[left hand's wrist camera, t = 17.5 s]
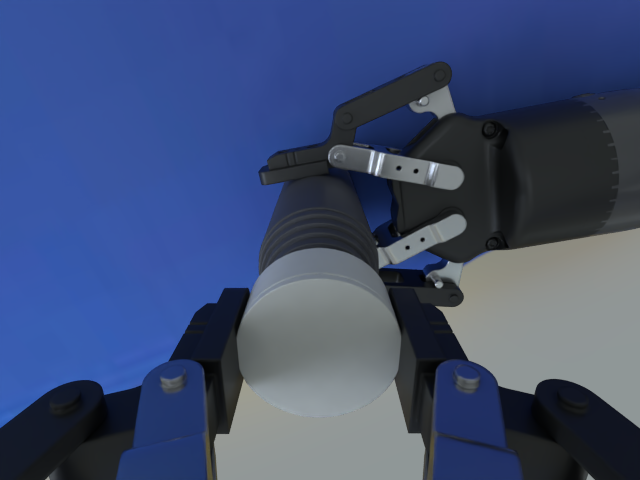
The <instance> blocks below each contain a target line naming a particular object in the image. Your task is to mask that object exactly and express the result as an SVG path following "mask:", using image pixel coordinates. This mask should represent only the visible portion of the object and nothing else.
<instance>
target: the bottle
mask: <svg viewBox="0 0 640 480" xmlns="http://www.w3.org/2000/svg"><path fill="white" fill-rule="evenodd" d="M311 248H328V249H335V250H339V251H343V252H346V253H349V254H351V255H353V256H355V257H357V258H359V259H361V260H362V261H364V262H365V263H366V264H368V265H369V266H370V267H371V268H372V269H373V270H374V271H375V272H376V273H377V274H378V275H379V256H378V250H377V246H376V244H375V241H374V238H373V235H372V233H371V230H370V227H369V225H368V222H367V219H366V217H365V214H364V211H363V209H362V206H361V203H360V201H359V198H358V195H357V193H356V190H355V187H354V184H353V182H352V179H351V176H350V174H349V172H348V170H345V169H340V168H330V169H329V174H324V175H319V176H311V177H307V178H302V179H297V180H291V181H286V182H284V185H283V188H282V191H281V193H280V196H279V199H278V201H277V204H276V207H275V210H274V212H273V215H272V218H271V221H270V223H269V226H268V229H267V232H266V234H265V237H264V240H263V243H262V245H261V249H260V253H259V276H260V275H261V274H262V272H263V271H264V270H265V269H266V268H267V267H268V266H270V265H271V264H272V263H273V262H275V261H276V260H278V259H280V258H281V257H283V256H285V255H287V254H290V253H292V252H295V251H300V250H304V249H311Z"/></svg>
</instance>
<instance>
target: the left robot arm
mask: <svg viewBox="0 0 640 480" xmlns="http://www.w3.org/2000/svg"><path fill="white" fill-rule="evenodd" d="M388 295H389V298H390V301H391V304H392V307H393V310H394V313H395V316H396V319H397V322H398V325H399V328H400V331H401V347H400V358H399V368H398V372H397V375H396V377H395V378H394V379H395V383H396V387H397V391H398V394H399V398H400V402H401V406H402V410H403V414H404V418H405V422H406V426H407V430H408V433H421V435H422V438H423V442H424V445H425V455H424V469H423V480H586V479H587V476H588V473H589V474H590V475H591V476H592V477H593V478H594V479H595V480H640V428H639V427H637V426H636V425H635V424H633V423H632V422H631V421H629V420H628V419H627V418H626V417H624V416H623V415H622V414H620V413H619V412H618V411H616V410H615V409H614V408H613V407H611V406H610V405H609V404H607V403H606V402H605V401H604V400H602V399H601V398H600V397H598V396H597V395H596V394H594V393H593V392H591V391H590V390H588V389H586V388H585V387H583V386H580V385H578V384H576V383H573V382H569V381H566V380H560V379H549V380H544V381H542V382H540V383H539V384H538V385H537V387H536V390H535V394H534V395H533V394H528V393H524V392H520V391H515V390H511V389H507V388H503V387H500V386H498V383H497V380H496V378H495V377H494V376H493V374H492V373H491V372H490V371H488V370H487V369H486V368H484V367H483V366H481V365H479V364H476V363H474V362H471V361H469V360H468V358H467V357H466V355H465V353H464V351H463V349H462V347H461V346H460V344H459V342H458V340H457V338H456V336H455V335H454V333H453V331H452V329H451V327H450V325H449V324H448V322H447V320H446V318H445V316H444V314H443V313H442V312H441V311H440V310H439V309H438V308H436V307H435V306H434V305H432V304H431V303H421V302H420V300H419V298H418V296H417V294H416V292H415V290H414V288H390V289H389V292H388ZM249 296H250V292H249V289H248V288H225V289H224V290H223V292H222V294H221V296H220V298H219V300H218V302H217V303H207V304H206V305H205V306H203V307H202V308H201V309H199V310H198V311H197V312H196V313H195V314H194V316H193V318H192V320H191V322H190V325H188V327H187V329H186V331H185V334H183V336H182V338H181V340H180V341H179V343H178V345H177V347H176V349H175V350H174V352H173V354H172V356H171V358H170V359H169V361H168V362H166V363H163V364H161V365H159V366H157V367H156V368H154V369H153V370H152V371H150V372H149V373H148V374H147V376H146V377H145V378H144V380H143V383H142V385H141V386H138V387H136V388H132V389H129V390H124V391H120V392H115V393H111V394H107V395H104V393H103V389H102V387H101V385H100V384H98V383H97V382H94V381H90V380H80V381H74V382H70V383H66V384H63V385H61V386H58V387H56V388H54V389H52V390H51V391H49V392H47V393H46V394H44V395H43V396H42V397H40V398H39V399H38V400H36V401H35V402H34V403H33V404H31V405H30V406H29V407H27V408H26V409H25V410H23V411H22V412H21V413H20V414H18V415H17V416H16V417H14V418H13V419H12V420H10V421H9V422H8V423H7V424H5V425H4V426H3V427H1V428H0V480H45V479H46V478H47V477H48V476H49V478H50V480H217V469H216V455H215V448H214V440H215V437H216V434H229V432H230V428H231V425H232V421H233V417H234V413H235V409H236V406H237V402H238V398H239V394H240V390H241V386H242V383H243V379H244V378H243V376H242V374H241V372H240V369H239V359H238V348H237V332H238V328H239V325H240V323H241V320H242V317H243V314H244V311H245V308H246V305H247V302H248V299H249Z"/></svg>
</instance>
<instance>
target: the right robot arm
mask: <svg viewBox="0 0 640 480" xmlns="http://www.w3.org/2000/svg"><path fill="white" fill-rule="evenodd" d="M451 77H452V71H451V68H450V66H449V65H448V64H447V63H445V62H436V63H431V64H427V65H423V66H421V67H419V68H417V69H415V70H413V71H411V72H408V73H406V74H404V75H402V76H400V77H398V78H396V79H394V80H391V81H389V82H387V83H385V84H383V85H381V86H379V87H377V88H375V89H372V90H370V91H368V92H366V93H364V94H362V95H360V96H358V97H355V98H353V99H351V100H349V101H347V102H345V103H343V104H341V105H339V106H337V107H336V109H335V110H334V114H333V122H332V128H331V133H330V135H329V137H328V139H327V140H326V141H324V142H322V143H319V144H314V145H309V146H303V147H298V148H293V149H287V150H282V151H278V152H276V153H275V154H273V155H272V156H270V157H269V159H268V160H267V163H268V165H266V166H263V167H262V168H261V169H260V170H259V176H260V180H261V184H262V185H269V184H275V183H280V182H286V181H291V180H297V179H302V178H307V177H311V176H319V175H324V174H329V169H330V168H340V169H345V170H351V171H357V172H363V173H368V174H371V175H374V176H377V177H382V178H387V184H388V187H389V189H390V192H391V194H392V204H391V217H392V219H391V220H389V221H387V222H386V223H384V224H382V225H380V226H379V227H377V228H376V229H375V231H374V232H373V233H372V235H373V238H374V241H375V244H376V246H377V250H378V256H379V275H378V276H379V277H380V278H381V280H382V281H383V283H384V285H385V287H386V290H387V292H389V289H390V288H414V290H415V292H416V294H417V296H418V298H419V300H420V302H421V303H431V304H432V305H434V306H443V307H455V306H458V305H459V304H461V303H462V301H463V299H464V296H463V293H462V291H461V290H460V288H459V282H460V277H461V273H462V268H463V263H465V262H468V261H470V260H471V259H473V258H474V257H476V256H477V255H479V254H481V253H483V252H486V251H490V250H511V249H517V248H523V247H529V246H536V245H542V244H547V243H554V242H560V241H566V240H572V239H578V238H584V237H590V236H596V235H602V234H608V233H614V232H620V231H626V230H631V229H636V228H640V88H638V89H624V90H617V91H610V92H604V93H599V94H590V93H587V94H582V95H578V96H574V97H572V98H571V99H567V100H562V101H556V102H551V103H546V104H540V105H535V106H530V107H524V108H519V109H514V110H509V111H503V112H498V113H493V114H487V115H482V116H474V117H473V116H468V115H465V114H463V113H457V112H456V111H455V108H454V105H453V101H452V98H451V95H450V91H449V88H448V83H449V82H450V80H451ZM405 105H406V107H407V108H408V109H409V110H410V111H412V112H416V113H423V112H430V113H431V114H432V115H433V117H434V119H433V120H432V121H431V122H429V123H428V124H427V125H426V126H425V127H424V128H423V129H422V130H421V131H420V132H419V133H418V134H417V135H416V136H415V137H414V138H413V139H412V140H411V141H410V142H409V143H408V144H407V145H406V146H405V147H404V148H403V149H399V148H393V147H388V146H382V145H376V144H365V143H359V142H354V138H355V133H356V128H357V127H359V126H361V125H363V124H365V123H368V122H370V121H372V120H374V119H376V118H378V117H381V116H383V115H385V114H387V113H389V112H392V111H394V110H396V109H398V108H400V107H402V106H405ZM424 250H426V251H428V252H430V253H432V254H434V255H437V256H439V257H441V258H443V259H442V260H441V261H440V262H438V263H436V264H428V265H426V266H425V268H424V269H423V270H412V269H393V268H382V267H384V266H386V265H388V264H392V265H395V264H398V263H400V262H402V261H404V260H406V259H408V258H410V257H412V256H414V255H416V254H418V253H420V252H422V251H424Z"/></svg>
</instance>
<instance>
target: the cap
mask: <svg viewBox="0 0 640 480" xmlns="http://www.w3.org/2000/svg"><path fill="white" fill-rule="evenodd" d="M400 347H401V331H400V328H399V325H398V322H397V319H396V316H395V313H394V310H393V307H392V304H391V301H390V298H389V295H388V292H387V290H386V287H385V285H384V283H383V281H382V280H381V278H380V277H379V276H378V274H377V273H376V272H375V271H374V270H373V269H372V268H371V267H370V266H369V265H368V264H366V263H365V262H364V261H362V260H361V259H359V258H357V257H355V256H353V255H351V254H349V253H346V252H343V251H339V250H335V249H328V248H311V249H304V250H300V251H295V252H292V253H290V254H287V255H285V256H283V257H281V258H280V259H278V260H276V261H275V262H273V263H272V264H271V265H270V266H268V267H267V268H266V269H265V270H264V271H263V272H262V274H261V275H260V276H259V277H258V279H257V281H256V282H255V284H254V286H253V288H252V291H251V293H250V296H249V299H248V302H247V305H246V308H245V311H244V314H243V317H242V320H241V323H240V325H239V328H238V332H237V348H238V359H239V369H240V372H241V374H242V376H243V378H244V379H245V381H246V383H247V384H248V385H249V386H250V388H251V389H252V390H253V391H254V392H255V393H256V394H257V395H258V396H259V397H260V398H262V399H263V400H264V401H266V402H267V403H269V404H271V405H272V406H274V407H276V408H278V409H280V410H283V411H285V412H288V413H291V414H295V415H299V416H305V417H334V416H339V415H344V414H347V413H350V412H353V411H356V410H358V409H360V408H363V407H364V406H366V405H368V404H370V403H371V402H373V401H374V400H375V399H377V398H378V397H379V396H380V395H381V394H382V393H383V392H385V390H386V389H387V388H388V387H389V386H390V384H391V383H392V381H393V380H394V378H395V377H396V375H397V372H398V368H399V358H400Z"/></svg>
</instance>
